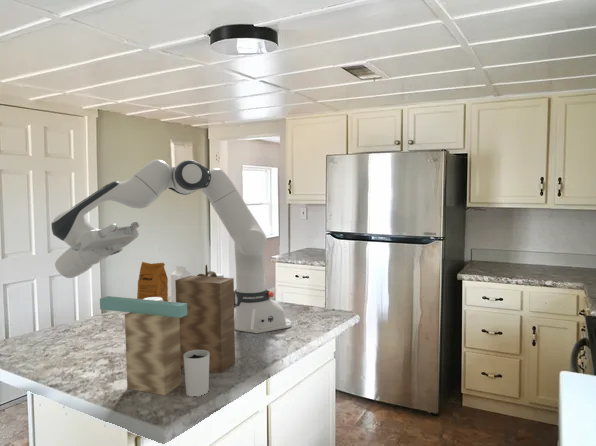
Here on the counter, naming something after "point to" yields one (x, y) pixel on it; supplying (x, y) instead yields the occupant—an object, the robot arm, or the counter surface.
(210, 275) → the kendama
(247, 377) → the counter surface
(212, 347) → the post
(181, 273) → the milk
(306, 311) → the counter surface
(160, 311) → the rail
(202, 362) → the white coffee cup
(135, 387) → the zigzag patterned block
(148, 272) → the coffee package
